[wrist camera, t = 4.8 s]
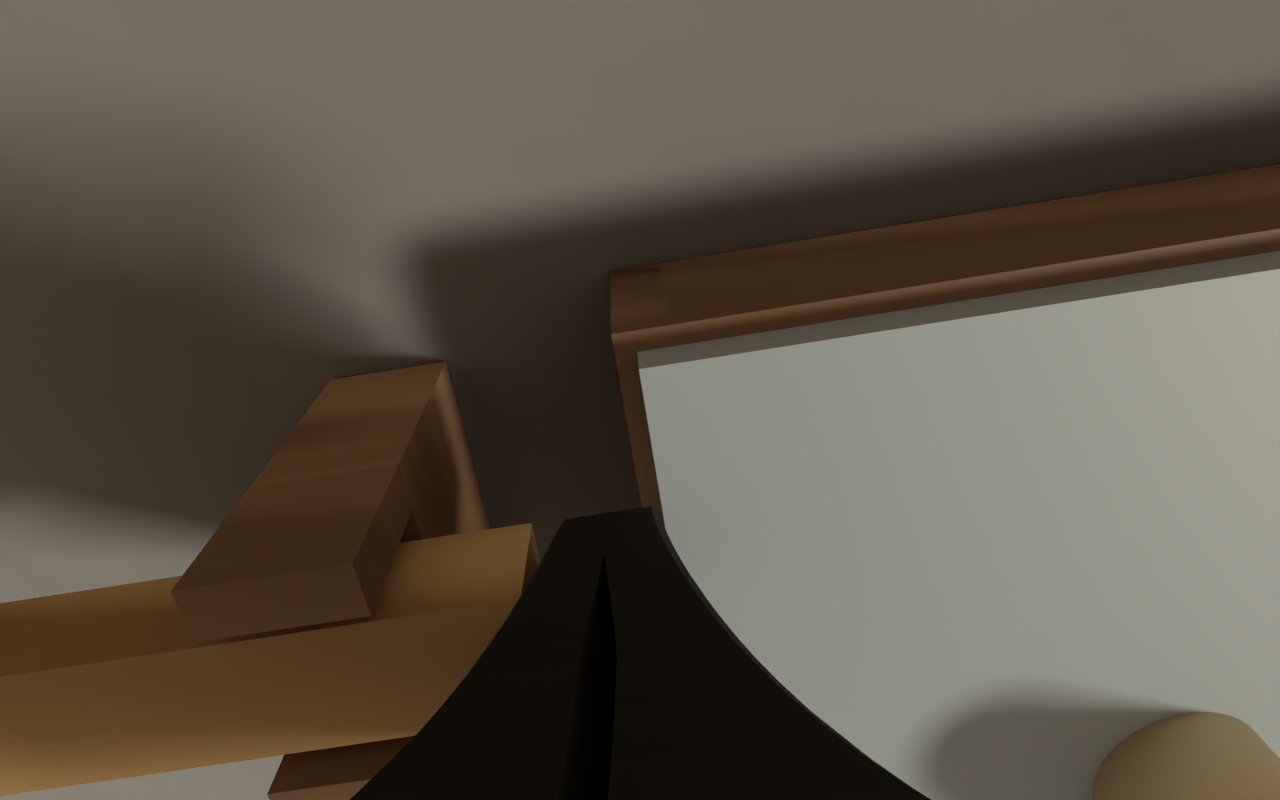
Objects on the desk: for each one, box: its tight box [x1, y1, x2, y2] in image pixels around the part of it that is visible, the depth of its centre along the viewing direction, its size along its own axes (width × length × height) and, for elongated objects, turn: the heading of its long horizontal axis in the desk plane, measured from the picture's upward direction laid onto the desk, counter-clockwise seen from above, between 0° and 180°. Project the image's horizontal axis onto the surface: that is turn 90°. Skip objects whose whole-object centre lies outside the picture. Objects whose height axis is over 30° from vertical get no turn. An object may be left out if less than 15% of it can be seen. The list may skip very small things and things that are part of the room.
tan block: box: [0, 523, 541, 796], centre depth 11 cm, size 2×9×2 cm, turn 99°
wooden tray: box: [171, 164, 1280, 800], centre depth 14 cm, size 14×21×6 cm, turn 99°
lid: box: [637, 251, 1280, 800], centre depth 12 cm, size 13×15×4 cm
